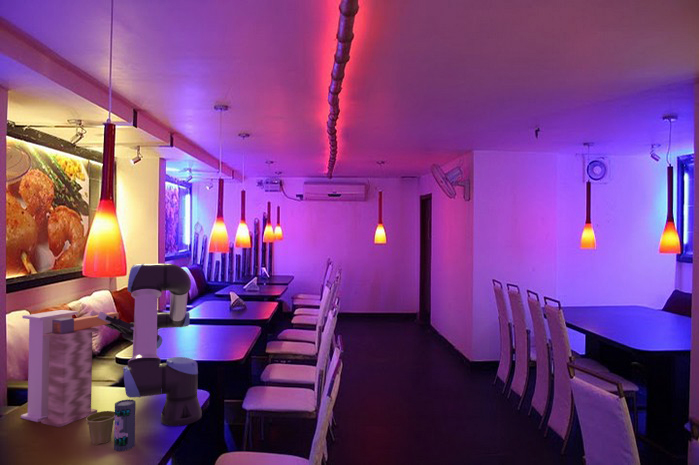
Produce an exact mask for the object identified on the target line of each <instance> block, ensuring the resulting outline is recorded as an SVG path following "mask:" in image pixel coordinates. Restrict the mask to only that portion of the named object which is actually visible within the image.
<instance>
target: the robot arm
mask: <svg viewBox="0 0 699 465" xmlns="http://www.w3.org/2000/svg"><path fill="white" fill-rule="evenodd" d="M191 288H192V281H191V276H190V275H189V274H188V272H187V271H186V270H185V269H184V268H182V267H181V266H179V265H177V264H175V263H174V264H173V263H137V264H133V265H132V266H131V268H130V270H129V274H128V280H127V292H129V293H130V296H131V297H132V298H133V299H134V315H133V322H127V321H125V320H123V319H121V318H118V319H116V318H117V317H116V316H114V318H113V317H111V316H109V315H107V314H105V313H106V312H103V311H99V312H96V311H95V310H91V312H90V314H89V316H92V315H98V314H99V315H98V317H97V318H99V319H101V320H103V321H105V322H107V323H111V324H106V325H104V326H105V327H107V328H110V329H111V330H115V331H117V332H118V333H121V336H122V338H124V339H125V340H128V341H130V342H132V357H131V358H130V359H129V360H128V361H127V365H125V366H123V368H122V370H123V382H124V390H125V395H126V396H127V398H129V399H130V398H131V399H133V398H143V397H150V396H151V397H152V396H159V395H160V396H161V395H165V402H164V405H163V408H162V411H161V414H160V422H161V424H163V425H165V426H171V427H177V426H186V425H190V424H193V423H196V422H197V421H199V420H201V419H202V417H203V415H202V413H203V412H202V408H201V404H200V401H199V398H198V374H199V371H198V368H199V367H198V362H197V361H196V360H195V359H193V358H189V357H184V356H183V357H182V356H181V357H180V356H174V357H170V358H169V357H168V358H167V359H166V360H165V361H166V362H163V363H161V361H162V360H161V358H160V356H158V355H157V354H158V353H157V352H158V351H157V350H158V349H159V348H160V347H161V346H162V343H163V338H162V336H161V335H160V334H159V330H158V329H171V328H173V329H174V328H183V327H184V328H185V327H189V325H190V319H191V318H190V316H191V315H190V311H187V306H188V305H187V304H188V296H189V294H188V293H189V292H190V290H191ZM163 291H164V292H165V291H169V293H170V294H169V312H159V310H158V299H159V298H160V297H161V296H162V294H163V293H162V292H163Z"/></svg>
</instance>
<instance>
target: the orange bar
mask: <svg viewBox="0 0 699 465" xmlns="http://www.w3.org/2000/svg"><path fill="white" fill-rule="evenodd" d="M104 313H105V314H107V315H109V316H111V317H113V318H114V316H116V317H117V318H116V319H119V318H120V317H119V316H120V314H119V312H116V311H111V312H104ZM98 315H99V314H98ZM98 315H92V316H90V315H87V316H81V317H77V318H73V317H72V318H65V317H64V318H58V319H53V320H52V333H59V334H63V333H68V332H73V331H76V330H81V329H86V328H97V327H101V326H105V325H106V324H111V323H107V322H105V321H103V320H101V319H99V318H97V317H98Z"/></svg>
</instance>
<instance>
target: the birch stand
mask: <svg viewBox="0 0 699 465" xmlns="http://www.w3.org/2000/svg"><path fill="white" fill-rule="evenodd" d="M95 332H100V328H97V327H91V328H86V329H81V330H76V331H73V332H68V333H63V334H59V333H52V332H49V333H44V334H43V337H50V340H49V397H48V418H46V419H43V420H41V421H40V422H41V424H43V425H44V424H45V425H47V426H51V427H56V428H61V427H64V426H66V425H69V424H71V423H74V422H76V421H79V420H81V419H84V418H87V417H88V416H89V415H91V414H94V413H97V412H98V409H97V408H92V385H93V384H92V380H93V378H92V377H93V376H92V375H93V333H95Z"/></svg>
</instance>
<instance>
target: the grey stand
mask: <svg viewBox="0 0 699 465" xmlns="http://www.w3.org/2000/svg"><path fill="white" fill-rule="evenodd" d="M74 315H79V311H77V310H70V309H69V310H67V309H59V310H53V311H51V310H50V311H44V312H38V313H32V314H25V315H22V316H21V317H22V319H24V320H26V319H27V320H29V322H28V328H29V329H28V365H27V366H28V368H27V369H28V372H27V373H28V374H27V379H28V380H27V412H26V413H23V414H21V415H20V419H24V420H27V421H32V422H36V423H38V422H41V420H43V419H46V418H48V397H49V340H50V337H43V334H44V333H49V332H52V320H53V319H58V318H64V317H65V318H73V316H74Z"/></svg>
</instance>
